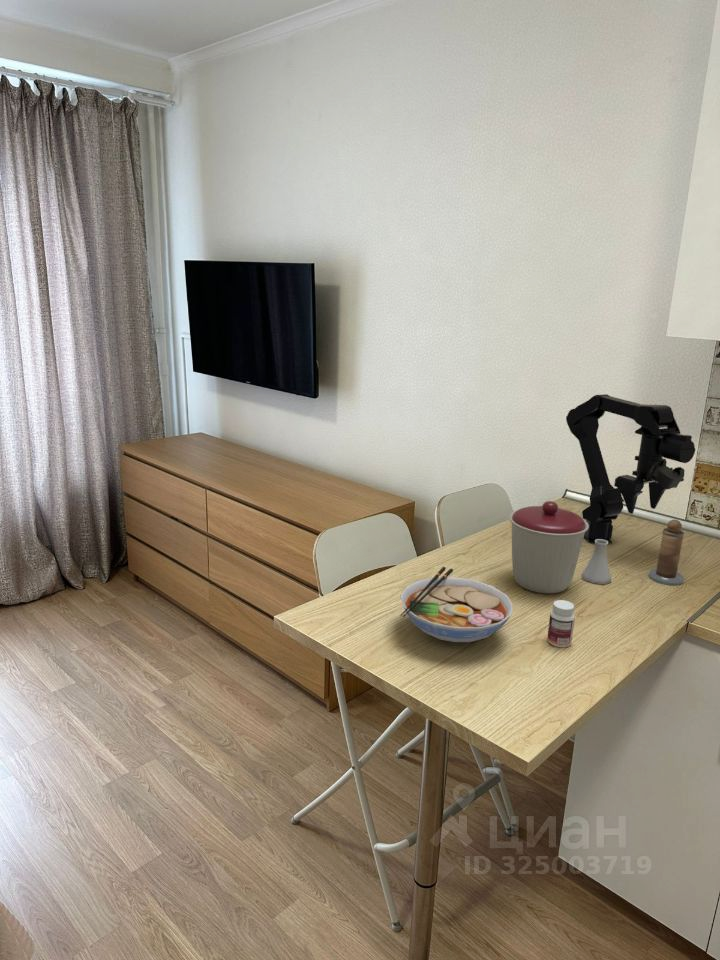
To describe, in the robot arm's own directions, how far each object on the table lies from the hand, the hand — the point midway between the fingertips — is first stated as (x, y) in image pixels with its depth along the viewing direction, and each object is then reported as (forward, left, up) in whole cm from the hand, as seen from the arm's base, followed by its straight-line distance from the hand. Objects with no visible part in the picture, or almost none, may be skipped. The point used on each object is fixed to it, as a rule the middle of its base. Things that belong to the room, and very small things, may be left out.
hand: (641, 510), depth 176 cm
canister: (-31, -19, -13) cm, 39 cm away
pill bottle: (-35, -46, -13) cm, 59 cm away
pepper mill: (+2, -14, -12) cm, 18 cm away
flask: (-16, -15, -13) cm, 26 cm away
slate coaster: (+2, -14, -13) cm, 19 cm away
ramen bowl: (-56, -43, -13) cm, 72 cm away
